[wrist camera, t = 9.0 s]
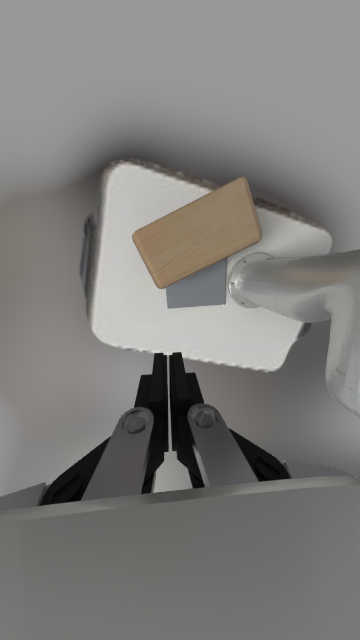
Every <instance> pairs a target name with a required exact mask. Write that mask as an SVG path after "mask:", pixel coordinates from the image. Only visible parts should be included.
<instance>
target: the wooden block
mask: <svg viewBox="0 0 360 640" xmlns="http://www.w3.org/2000/svg"><path fill="white" fill-rule="evenodd" d="M132 238H133V242H134V244H135V246H136V248H137V250H138V252H139V254H140V255H141V257H142V259H143V261H144V263H145V265H146V267H147V269H148V271H149V273H150V275H151V277H152V279H153V281H154V283H155V285H156V286H157V287H158V288H159V289H164V288H166V287H168V286H170V285H172V284H174V283H176V282H178V281H180V280H182V279H184V278H186V277H188V276H190V275H192V274H194V273H196V272H198V271H200V270H202V269H204V268H206V267H208V266H211V265H213V264H215V263H217V262H219V261H221V260H223V259H225V258H227V257H229V256H231V255H233V254H235V253H237V252H239V251H241V250H243V249H245V248H247V247H249V246H251V245H253V244H255V243H257V242H258V241H259V240H260V239H261V238H262V232H261V228H260V225H259V221H258V217H257V214H256V210H255V207H254V203H253V199H252V196H251V192H250V188H249V185H248V181H247V179H246V178H245V177H242V178H238V179H236V180H234V181H232V182H230V183H228V184H226V185H224V186H222V187H220V188H218V189H216V190H214V191H212V192H211V193H209V194H207V195H205V196H203V197H201V198H199V199H197V200H195V201H193V202H191V203H189V204H187V205H185V206H183V207H181V208H180V209H178V210H176V211H174V212H172V213H170V214H168V215H166V216H164V217H162V218H160V219H158V220H156V221H154V222H152V223H150V224H149V225H147V226H145V227H143V228H141V229H139V230H137V231H135V232H134V234H133V235H132Z"/></svg>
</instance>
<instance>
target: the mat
mask: <svg viewBox="0 0 360 640" xmlns="http://www.w3.org/2000/svg"><path fill="white" fill-rule="evenodd" d="M225 283H226V258H225V259H223V260H221V261H219V262H217V263H215V264H213V265H211V266H208V267H206V268H204V269H202V270H200V271H198V272H196V273H194V274H192V275H190V276H188V277H186V278H184V279H182V280H180V281H178V282H176V283H174V284H172V285H170V286H168V287H166V293H167V306H168V308H181V307H195V306H208V305H222V304H225Z"/></svg>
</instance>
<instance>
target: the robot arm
mask: <svg viewBox="0 0 360 640" xmlns="http://www.w3.org/2000/svg"><path fill="white" fill-rule="evenodd" d="M267 259H268V260H267ZM244 260H245V262H244ZM231 282H232V284H231ZM228 287H229V292H230V295H231V297H232V298H233V300H234V301H235V302H236V303H238V304H239V305H241V306H243V307H246V308H257V307H264V308H266V309H269V310H271V311H274V312H276V313H279V314H281V315H284V316H286V317H289V318H292V319H294V320H297V321H301V322H320V321H324V320H328V319H331V329H330V342H329V350H328V357H327V366H326V384H327V387H328V389H329V391H330V393H331V395H332V396H333V397H334V399H335V400H336V401H337V402H338V403H339V404H341V405H342V406H343V407H344V408H346V409H347V410H349V411H350V412H352V413H353V414H355V415H357V416H359V417H360V250H354V251H349V252H343V253H335V254H327V255H317V256H305V257H293V258H281V259H274V258H272V257H271V256H269V255H267V254H263V253H255V254H250V255H247V256H245V257H243V258H242V259H241V260H239V261H238V262H237V263H236V264H235V266H234V267H233V269H232V271H231V273H230V276H229V281H228ZM169 362H170V363H169V366H170V367H169V369H170V370H169V371H170V412H171V435H172V451H177V459H178V460H179V461H180V462H181V463H182V464H183V465H184V466H185V467H186V474H187V478H188V482H189V487H190V489H186V490H176V491H167V492H158V493H153V491H154V485H155V479H156V470H157V469H158V468H159V466H160V465H161V464H162V463H163V461H164V452H168V451H169V450H168V448H169V447H168V446H169V445H168V385H167V355H163V353H155V354H154V363H153V372H152V375H141V378H140V383H139V388H138V392H137V396H136V401H135V406H134V408H132V409H130V410H128V411H126V412H125V413H124V414H123V415H122V416H121V418H120V419H119V421H118V423H117V425H116V427H115V429H114V432H113V434H112V436H110V437H109V438H108V439H106V440H105V441H104V442H103V443H101V444H100V445H99V446H97V447H96V448H95V449H93V450H92V451H91V452H90V453H88V454H87V455H86V456H84V457H83V458H82V459H81V460H79V461H78V462H77V463H75V464H74V465H73V466H71V467H70V468H69V469H68V470H66V471H65V472H64V473H62V474H61V475H60V476H59V477H58V478H57V479H56V480H55V481H53V483H52V484H49V485H46V483H45V482H44V483H41V484H38V485H35V486H32V487H29V488H26V489H23V490H20V491H17V492H14V493H10V494H8V495H5V496H1V497H0V640H360V478H359V477H354V476H353V475H351V474H350V473H348V472H346V471H344V470H342V469H339V468H335V467H330V466H323V465H317V464H311V463H305V462H299V461H292V460H286V459H284V462H280V461H278V460H277V459H276V458H275V457H274V456H272V455H271V454H269V453H268V452H266V451H265V450H263V449H261V448H260V447H258V446H257V445H254V444H253V443H252V442H250V441H249V440H247V439H245V438H244V437H242V436H240V435H239V434H237V433H236V432H234V431H233V430H231V429H229V428H228V427H227V425H226V423H225V421H224V420H223V418H222V416H221V414H220V413H219V411H218V410H217V409H216V408H214V407H213V406H211V405H209V404H204V401H203V398H202V394H201V391H200V388H199V384H198V381H197V377H196V374H195V373H185V368H184V363H183V358H182V353H181V352H176V353H173V355H169Z"/></svg>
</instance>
